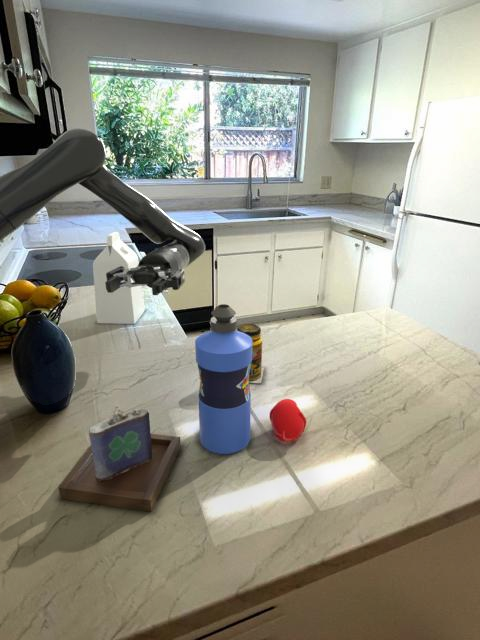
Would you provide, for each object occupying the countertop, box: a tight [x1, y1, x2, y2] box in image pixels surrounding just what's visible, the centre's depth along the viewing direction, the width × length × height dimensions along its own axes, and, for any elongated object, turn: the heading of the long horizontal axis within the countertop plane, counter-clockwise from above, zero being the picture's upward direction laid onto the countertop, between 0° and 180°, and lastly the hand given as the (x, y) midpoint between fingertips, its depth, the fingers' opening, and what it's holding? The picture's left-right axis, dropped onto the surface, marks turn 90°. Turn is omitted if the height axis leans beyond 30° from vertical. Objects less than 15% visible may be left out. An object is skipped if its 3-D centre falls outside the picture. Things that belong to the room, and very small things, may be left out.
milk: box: [92, 231, 146, 325], centre depth 123 cm, size 12×12×26 cm
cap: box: [269, 398, 307, 443], centre depth 72 cm, size 8×6×6 cm
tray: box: [58, 433, 182, 513], centre depth 64 cm, size 14×14×2 cm
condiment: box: [236, 323, 265, 384], centre depth 91 cm, size 7×8×12 cm
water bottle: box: [194, 304, 252, 455], centre depth 68 cm, size 9×9×25 cm
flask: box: [88, 405, 152, 481], centre depth 62 cm, size 9×3×11 cm, turn 127°
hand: (131, 288), depth 71 cm, fingers open, 8 cm apart
